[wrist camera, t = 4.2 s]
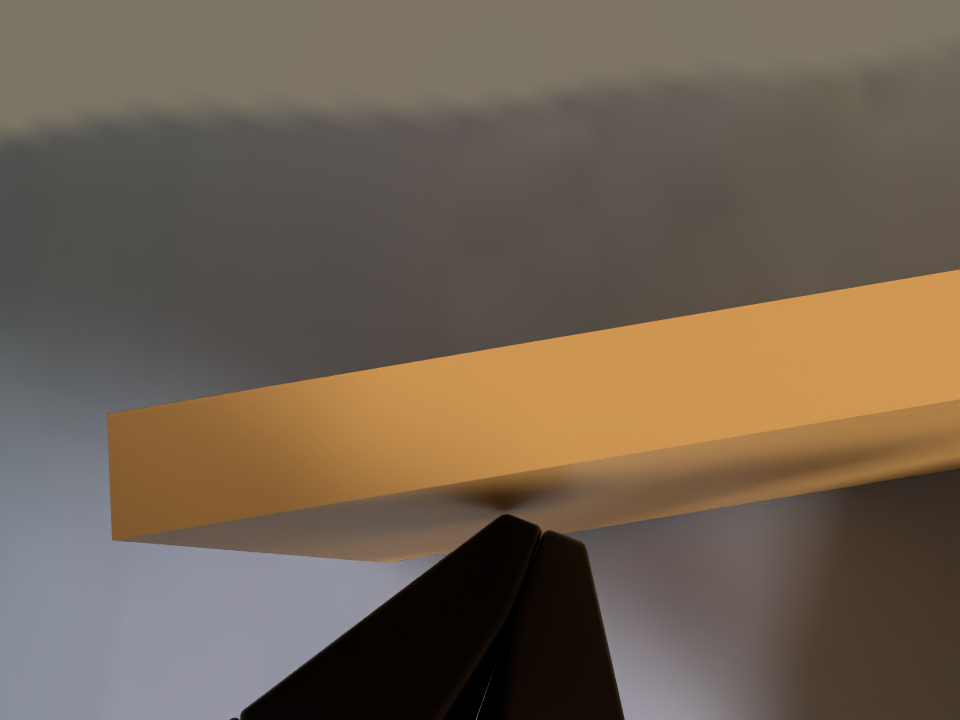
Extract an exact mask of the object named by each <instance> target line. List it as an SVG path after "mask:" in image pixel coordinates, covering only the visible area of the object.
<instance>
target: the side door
mask: <svg viewBox="0 0 960 720" xmlns="http://www.w3.org/2000/svg"><path fill="white" fill-rule="evenodd" d="M107 418H108V445H109V471H110V497H111V524H112V540H115V541H127V542H139V543H152V544H164V545H176V546H188V547H200V548H213V549H225V550H237V551H249V552H261V553H273V554H286V555H298V556H310V557H322V558H334V559H346V560H359V561H371V562H383V563H389V562H395V561H401V560H407V559H413V558H419V557H425V556H431V555H438V554H444V553H450V552H453V551H454V550H455V549H457V548H458V547H459V546H461V545H462V544H463V543H464V542H466V541H467V540H468V539H470V538H471V537H472V536H474V535H475V534H476V533H478V532H479V531H480V530H482V529H483V528H484V527H486V526H487V525H488V524H490V523H491V522H492V521H494V520H495V519H496V518H498V517H499V516H501V515H503V514H510V515H513V516H516V517H518V518H521V519H523V520H526V521H529V522H531V523H534V524H537V525H538V526H540V528H541V530H542V535H543V533H544V532H545V531H547V530H552V531H555V532H557V533H560V534H565V533H571V532H577V531H583V530H589V529H596V528H602V527H608V526H614V525H620V524H626V523H632V522H638V521H644V520H650V519H656V518H662V517H668V516H675V515H681V514H687V513H693V512H699V511H705V510H711V509H717V508H723V507H729V506H735V505H741V504H747V503H753V502H760V501H766V500H772V499H778V498H784V497H790V496H796V495H802V494H808V493H814V492H820V491H826V490H832V489H839V488H845V487H851V486H857V485H863V484H869V483H875V482H881V481H887V480H893V479H899V478H905V477H911V476H918V475H924V474H930V473H936V472H942V471H948V470H954V469H960V270H954V271H948V272H942V273H936V274H930V275H924V276H918V277H912V278H906V279H901V280H895V281H889V282H883V283H877V284H871V285H865V286H859V287H853V288H847V289H842V290H836V291H830V292H824V293H818V294H812V295H806V296H800V297H794V298H788V299H782V300H777V301H771V302H765V303H759V304H753V305H747V306H741V307H735V308H729V309H723V310H718V311H712V312H706V313H700V314H694V315H688V316H682V317H676V318H670V319H664V320H658V321H653V322H647V323H641V324H635V325H629V326H623V327H617V328H611V329H605V330H599V331H593V332H588V333H582V334H576V335H570V336H564V337H558V338H552V339H546V340H540V341H534V342H529V343H523V344H517V345H511V346H505V347H499V348H493V349H487V350H481V351H475V352H469V353H464V354H458V355H452V356H446V357H440V358H434V359H428V360H422V361H416V362H410V363H404V364H399V365H393V366H387V367H381V368H375V369H369V370H363V371H357V372H351V373H345V374H340V375H334V376H328V377H322V378H316V379H310V380H304V381H298V382H292V383H286V384H280V385H275V386H269V387H263V388H257V389H251V390H245V391H239V392H233V393H227V394H221V395H216V396H210V397H204V398H198V399H192V400H186V401H180V402H174V403H168V404H162V405H156V406H151V407H145V408H139V409H133V410H127V411H121V412H115V413H109V414H107ZM542 535H541V537H542Z"/></svg>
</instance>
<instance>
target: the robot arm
mask: <svg viewBox="0 0 960 720" xmlns="http://www.w3.org/2000/svg"><path fill="white" fill-rule="evenodd" d="M541 535H542V530H541V528H540V526H538V525H537V524H534V523H531V522H529V521H526V520H523V519H521V518H518V517H516V516H513V515H510V514H503V515H501V516H499V517H498V518H496V519H495V520H494V521H492V522H491V523H490V524H488V525H487V526H486V527H484V528H483V529H482V530H480V531H479V532H478V533H476V534H475V535H474V536H472V537H471V538H470V539H468V540H467V541H466V542H464V543H463V544H462V545H461V546H459V547H458V548H457V549H455V550H454V551H453V552H451V553H450V554H449V555H447V556H446V557H445V558H443V559H442V560H441V561H439V562H438V563H437V564H435V565H434V566H433V567H431V568H430V569H429V570H428V571H426V572H425V573H424V574H422V575H421V576H420V577H418V578H417V579H416V580H414V581H413V582H412V583H410V584H409V585H408V586H406V587H405V588H404V589H402V590H401V591H400V592H398V593H397V594H396V595H395V596H393V597H392V598H391V599H389V600H388V601H387V602H385V603H384V604H383V605H381V606H380V607H379V608H377V609H376V610H375V611H373V612H372V613H371V614H369V615H368V616H367V617H365V618H364V619H363V620H362V621H360V622H359V623H358V624H356V625H355V626H354V627H352V628H351V629H350V630H348V631H347V632H346V633H344V634H343V635H342V636H340V637H339V638H338V639H336V640H335V641H334V642H332V643H331V644H330V645H329V646H327V647H326V648H325V649H323V650H322V651H321V652H319V653H318V654H317V655H315V656H314V657H313V658H311V659H310V660H309V661H307V662H306V663H305V664H303V665H302V666H301V667H299V668H298V669H297V670H296V671H294V672H293V673H292V674H290V675H289V676H288V677H286V678H285V679H284V680H282V681H281V682H280V683H278V684H277V685H276V686H274V687H273V688H272V689H270V690H269V691H268V692H266V693H265V694H264V695H263V696H261V697H260V698H259V699H257V700H256V701H255V702H253V703H252V704H251V705H249V706H248V707H247V708H245V709H244V710H243V711H242V712H241V714H240V720H476V718H477V720H625V719H624V714H623V710H622V705H621V701H620V696H619V692H618V687H617V683H616V678H615V674H614V670H613V665H612V661H611V656H610V652H609V647H608V643H607V638H606V634H605V629H604V625H603V620H602V616H601V611H600V607H599V602H598V598H597V594H596V589H595V585H594V580H593V576H592V571H591V567H590V562H589V558H588V553H587V550H586V547H585V545H584V544H583V543H582V542H580V541H578V540H576V539H573V538H571V537H568V536H565V535H563V534H560V533H557V532H555V531H552V530H547V531H545V532H544V533H543V535H542V537H541ZM540 538H541V539H540ZM539 541H540V542H539ZM538 544H539V545H538ZM537 547H538V548H537ZM534 555H535V556H534ZM533 558H534V559H533ZM497 659H498V660H497ZM492 673H493V674H492ZM491 676H492V677H491ZM490 679H491V680H490ZM488 684H489V685H488ZM487 687H488V688H487ZM486 690H487V691H486ZM485 693H486V694H485ZM484 696H485V697H484ZM483 698H484V700H483ZM482 701H483V702H482ZM481 704H482V705H481ZM480 707H481V708H480ZM479 710H480V711H479ZM478 712H479V714H478ZM477 715H478V717H477ZM230 720H239V719H238V718H232V719H230Z"/></svg>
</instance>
